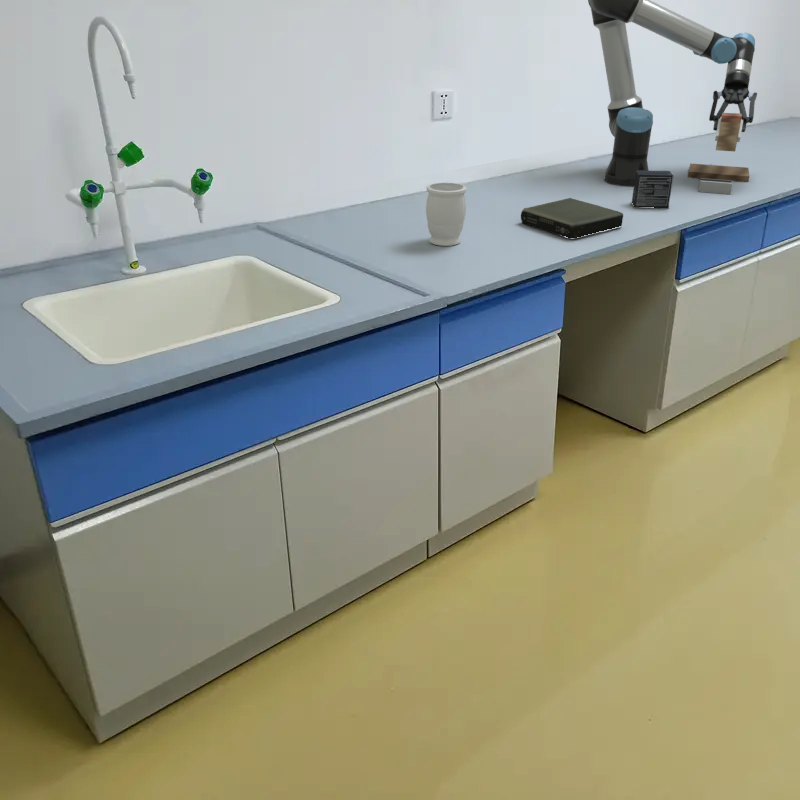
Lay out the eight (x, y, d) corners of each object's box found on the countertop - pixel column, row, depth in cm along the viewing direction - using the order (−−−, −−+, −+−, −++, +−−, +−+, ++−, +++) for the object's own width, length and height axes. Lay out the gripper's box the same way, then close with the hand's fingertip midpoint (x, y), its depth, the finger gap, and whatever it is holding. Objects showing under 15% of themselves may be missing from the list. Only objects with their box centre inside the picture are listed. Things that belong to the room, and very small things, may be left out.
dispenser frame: (698, 191, 269) (700, 181, 267) (699, 185, 277) (700, 174, 275) (730, 194, 266) (732, 183, 264) (730, 187, 274) (732, 177, 272)
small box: (664, 203, 256) (670, 170, 251) (668, 209, 250) (674, 175, 245) (630, 202, 257) (635, 169, 252) (634, 208, 251) (638, 174, 246)
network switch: (627, 227, 235) (630, 210, 232) (580, 245, 220) (583, 227, 218) (561, 211, 249) (562, 195, 247) (513, 226, 235) (514, 209, 233)
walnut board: (687, 177, 286) (688, 171, 285) (689, 168, 298) (690, 163, 297) (748, 182, 281) (749, 176, 280) (747, 173, 292) (748, 167, 291)
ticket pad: (715, 150, 267) (721, 115, 261) (716, 147, 271) (722, 112, 265) (735, 151, 265) (741, 116, 259) (735, 148, 269) (741, 113, 263)
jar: (462, 236, 226) (464, 181, 218) (466, 247, 217) (468, 191, 209) (424, 236, 225) (425, 182, 218) (426, 248, 216) (427, 191, 209)
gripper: (766, 86, 269) (757, 147, 263) (706, 84, 274) (695, 143, 269) (770, 71, 262) (761, 134, 257) (708, 69, 268) (697, 130, 262)
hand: (727, 138), depth 263 cm, fingers closed on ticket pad, 6 cm apart
